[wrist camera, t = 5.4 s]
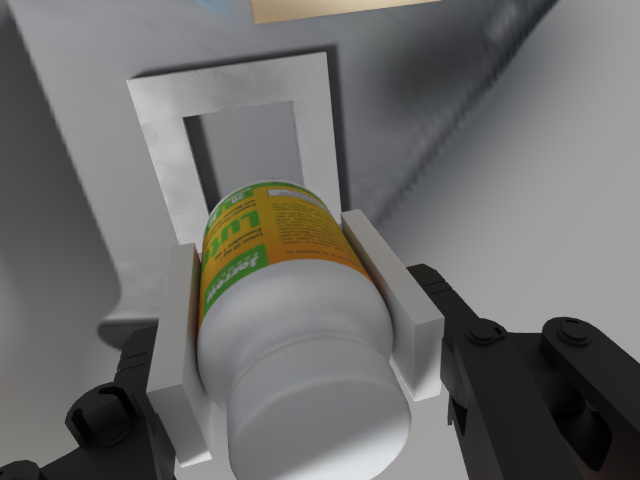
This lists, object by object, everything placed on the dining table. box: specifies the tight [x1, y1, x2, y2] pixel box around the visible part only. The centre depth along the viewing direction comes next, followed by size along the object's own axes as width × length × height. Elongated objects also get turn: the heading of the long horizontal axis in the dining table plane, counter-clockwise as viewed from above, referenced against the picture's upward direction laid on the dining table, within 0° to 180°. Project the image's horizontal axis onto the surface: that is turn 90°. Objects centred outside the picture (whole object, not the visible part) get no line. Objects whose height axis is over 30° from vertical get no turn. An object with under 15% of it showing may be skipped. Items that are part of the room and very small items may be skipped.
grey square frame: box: [126, 51, 341, 253], centre depth 28 cm, size 12×12×1 cm
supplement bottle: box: [197, 179, 411, 480], centre depth 13 cm, size 5×5×10 cm
